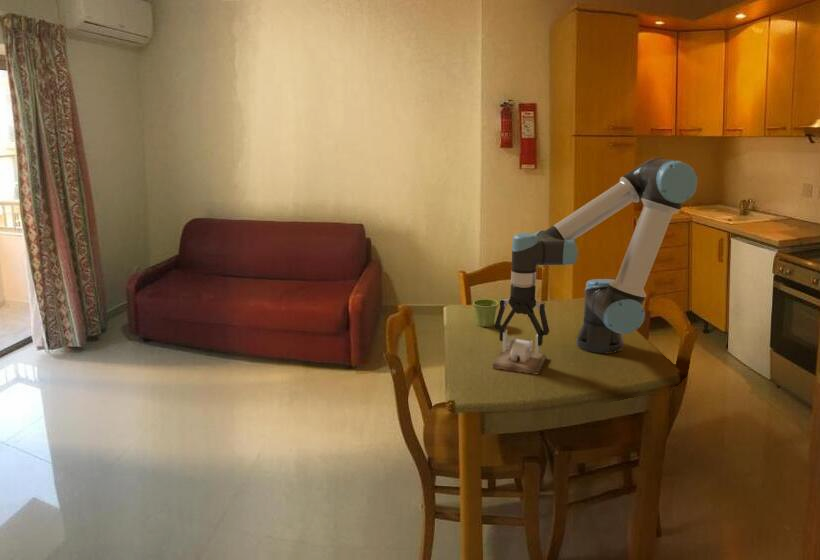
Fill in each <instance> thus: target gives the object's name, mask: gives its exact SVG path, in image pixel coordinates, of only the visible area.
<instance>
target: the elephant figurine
mask: <svg viewBox="0 0 820 560" xmlns="http://www.w3.org/2000/svg"><path fill="white" fill-rule="evenodd" d="M507 349H510V350H511V354H510V355H511V360H513V361H517V358H519V357H520V362H523V363H524V362H526V360H528V359H529V356H530V352H533V339H531V340H525V339H519V338H515V337H514V336H513V335H511V336H510V337H509V339H508V340H507Z"/></svg>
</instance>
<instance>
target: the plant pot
mask: <svg viewBox="0 0 820 560" xmlns="http://www.w3.org/2000/svg"><path fill="white" fill-rule="evenodd" d="M472 304H473V306H474V311H475V315H476V316H475V317H476V324H477V326H479V327H481V328H483V327H487V328H490V327H494V326H495V318H496V313H497V312H496V311H497V308H498V306H499V305H500V302H498V301H497V300H495V299H489V298H482V299H481V298H480V299H476V300H474V301H473V302H472Z"/></svg>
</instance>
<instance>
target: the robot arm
mask: <svg viewBox="0 0 820 560" xmlns="http://www.w3.org/2000/svg"><path fill="white" fill-rule="evenodd" d="M697 187H698V175H697V174H696V171H695V169H694V168H693V167H692V166H691V165H689V164H688V163H685V162H683V161H681V160H676V159H667V158H666V159H665V158H663V157H657V158H652V159H651V158H650V159H648V160H647V161H644V162H642V163H641V164H639V165H638V166H636V167H635V168H633V169H632V170H630V171H628V172H627V173H625V174H624V175H622V176H621V177H620V178H619V180H618V182H617V183H616V184H614V185H613V186H611V187H610V188H609V189H607V190H605V191H604V192H602V193H601V194H599V195H598V196H596V197H595V198H593V199H592V200H590V201H589V202H586V204H584V205H583V206H581V207H580V208H577V209H576V210H575V211H574V212H572V213H570V214H569V215H568V216H566V217H565V218H563V219H561V220H560V221H559V222H557V223H555V224H553V225H552V226H551V227H548V228H547V229H546V230H545V229H544V230H543V229H541V230H538V231H536V232H535V233H530V232H529V233H527V232H522V233H521V232H520V233H516V234H515V235H514V236H513V237H512V245H511V271H510V272H511V273H510V283H511V284H510V294H509V295H510V297H509V299H505V298H502V299H500V301H499V307H500V308H499V310H498V313H497V316H496V320H495V321H494V325H493V327H494V330H497V331H499V341H500V342H502V347H501V348H502V351H501V352H505V351H506V350H507V349H508V346H507V343H508V329H506V328H507V327H508V325H509V323H511V320H512V318H513V317H514V315H515V314H517V315H519V314H520V315H521V314H522V315H527V317H528V318H529V319H530V322H531V324H532V325H533V328H534V330H535V332H536V334H535V341H534V344H535V345H534V353H535V356H538V354H539V353H540V346H542V344H543V343H544V336H548V335H549V333H550V328H549V324H548V319H547V314H546V310H545V309H546V302H544V301H543V302H537V300H536V287H537V286H536V283H537V266H568V265H574V264H575V263H576V262H577V259H578V256H579V255H578V254H579V252H578V251H579V250H578V246H577V243H576V241H575V239H577V238H579V237H580V236H582V235H584V234H585V233H586V232H588V231H590V230H591V229H593V228H595V227H596V226H597V225H599V224H600V223H602V222H605V220H607V219H608V218H610V217H612V216H613V215H614V214H616V213H618V212H619V211H621V210H623V209H624V208H626V207H627V206H629V205H630V204H632V203H639V202H642V204H643V207H642V210H641V212H640V215H639V217H638V220H637V223H636V225H635V228H634V231H633V234H632V236H631V239H630V242H629V244H628V246H627V249H626V251H625V254H624V257H623V260H622V262H621V265H620V268H619V270H618V273H617V275H616V278H615V279H613V278H612V279H611V278H610V279H609V278H593V279H589V280H587V281H586V283H585V289H584V305H583V307H584V308H583V319H582V324H581V327H580V330H579V331H578V334H577V336H576V346H577V347H578V348H579V349H581V350H584V351H587V352H590V351H592V352H591V353H595V352H599V353H598V354H608V353H607V352H615V351H618V350H620V349H622V348H624V339H623V335H627V334H630V333H633V332H635V331H636V330H638V329H640V327H641V326H642V324H643V323H644V321H645V319H646V311H645V308H644V306H643V305H644V302H645V301H646V297H647V294H646V292H645V289H644V288H645V286H646V283H647V281H648V278H649V277H650V276H649V275H650V273H651V270H652V268H653V265H654V262H655V260H656V258H657V255H658V252H659V251H660V247H661V245H662V242H663V240H664V238H665V235H666V233H667V230H668V227H669V225H670V222H671V219H672V217H673V215H674V214H676V213H679V212H680V211H681V208H682V207H683V205H684V202H687V201H688V200H689V199H691V198H692V197H693V196H694V194H695V192H696V190H697ZM508 304H509V306H510V307H511V308H512V309H511V311H510V312H509V314H508V315H507V317H506V319H505V320H504V322H503V323H502V319H503V315H504V313H505V309H506V307H507V306H508ZM535 307H536V308H537V310H538V311H539V312H538V313H539V317H540V321H541V324H540V323H539V320H538V318H537V316H536V314H535V312H534V309H535ZM501 323H502V325H501ZM622 350H623V349H622ZM615 353H616V352H615Z"/></svg>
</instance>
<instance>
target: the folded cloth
mask: <svg viewBox="0 0 820 560" xmlns="http://www.w3.org/2000/svg"><path fill="white" fill-rule="evenodd" d="M510 354H511V350H510V349H509V348H507V350H506V351H505V352H502V351H500V353H499V354H498V356H497V357H496V359H495V361H493V363H492V369H493V368H494V369H495V370H500V369H503V370H502V371H508V370H509V372H515V371H517V372H516V373H522V372H524V374H529V373H539V374H540V372H541V370H542V368H543V366H544V364H543V363H545V362H544V361H546V359H547V354H546V353H542V352H541V353H540V352H539V354H538V356H535V352H534V351H532V352H530V356H529V359H528V360H526V362H524V363H523V362H520V357H519V358H517V361H513V360H511V355H510ZM542 365H543V366H542ZM541 367H542V368H541ZM540 369H541V370H540ZM539 371H540V372H539Z"/></svg>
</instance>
